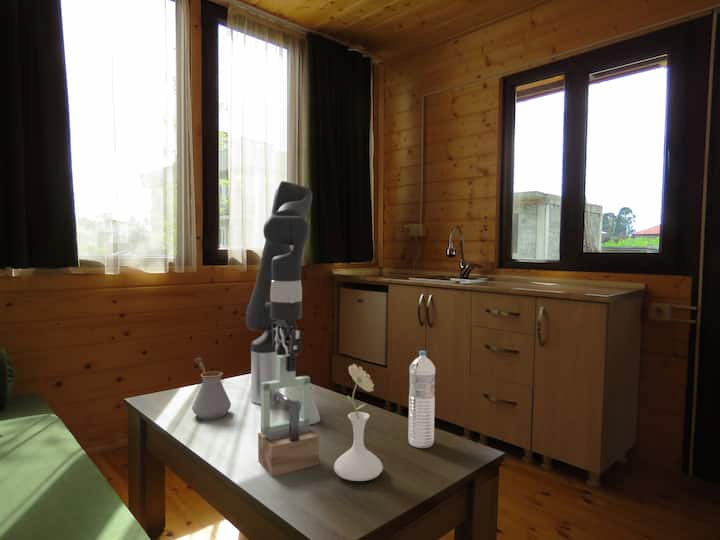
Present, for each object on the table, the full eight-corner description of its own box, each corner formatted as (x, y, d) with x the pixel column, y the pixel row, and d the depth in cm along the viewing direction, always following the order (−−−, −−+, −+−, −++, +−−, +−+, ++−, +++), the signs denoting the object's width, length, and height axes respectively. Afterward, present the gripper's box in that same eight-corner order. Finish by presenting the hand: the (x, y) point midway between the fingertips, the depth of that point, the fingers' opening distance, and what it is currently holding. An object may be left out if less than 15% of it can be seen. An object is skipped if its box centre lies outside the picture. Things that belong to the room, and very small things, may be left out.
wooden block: (258, 461, 114) (258, 432, 114) (303, 450, 121) (303, 423, 120) (271, 476, 107) (271, 446, 106) (318, 464, 113) (318, 436, 112)
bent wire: (260, 414, 126) (260, 381, 126) (269, 412, 128) (269, 380, 127) (291, 442, 109) (291, 404, 108) (301, 440, 110) (301, 402, 109)
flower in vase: (389, 482, 105) (391, 372, 103) (340, 489, 101) (341, 376, 100) (371, 457, 117) (372, 358, 116) (327, 462, 114) (327, 361, 112)
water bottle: (418, 436, 130) (420, 347, 129) (439, 443, 125) (440, 351, 124) (403, 443, 125) (404, 351, 124) (423, 451, 121) (425, 355, 119)
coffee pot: (236, 417, 143) (236, 368, 142) (197, 424, 137) (197, 374, 136) (215, 397, 161) (215, 354, 160) (180, 403, 154) (180, 359, 154)
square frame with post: (258, 433, 114) (258, 356, 113) (303, 424, 120) (304, 350, 119) (265, 441, 109) (265, 360, 108) (312, 430, 116) (312, 354, 115)
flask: (316, 426, 137) (317, 392, 136) (293, 424, 138) (293, 390, 138) (323, 417, 144) (323, 385, 143) (301, 415, 145) (301, 383, 145)
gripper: (261, 296, 117) (261, 363, 118) (283, 303, 105) (282, 377, 106) (289, 295, 121) (288, 360, 122) (313, 301, 109) (312, 373, 109)
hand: (286, 368), depth 114 cm, fingers open, 5 cm apart
